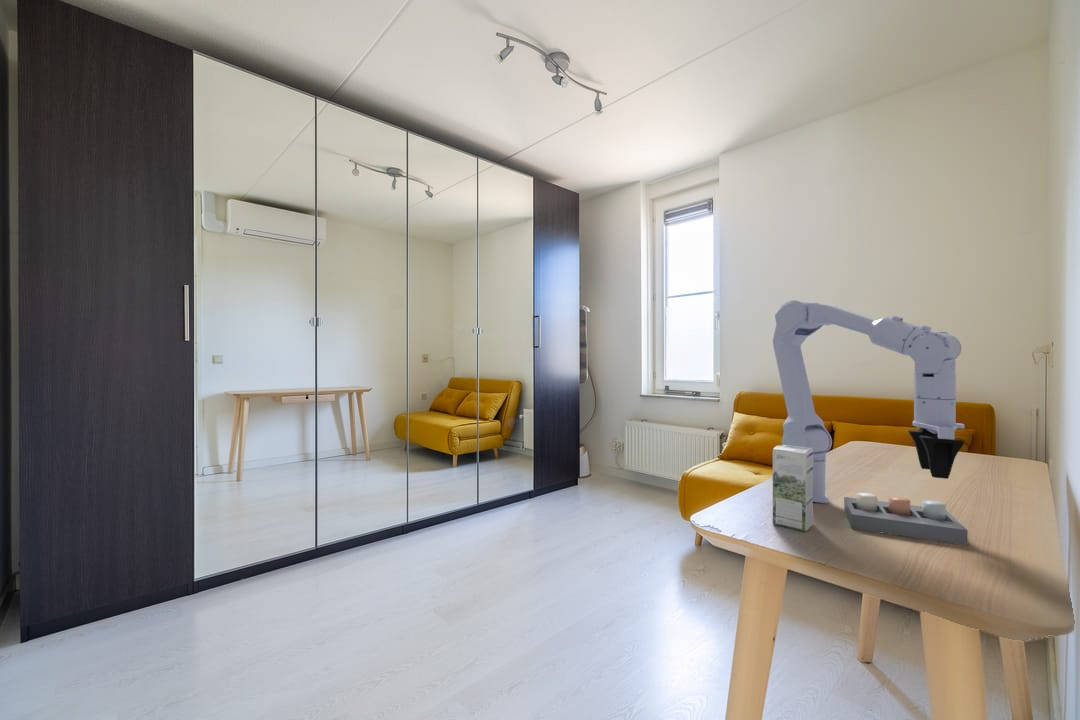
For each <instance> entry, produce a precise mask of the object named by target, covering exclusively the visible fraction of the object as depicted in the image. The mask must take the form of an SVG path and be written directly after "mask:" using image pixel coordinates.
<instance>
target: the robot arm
mask: <svg viewBox="0 0 1080 720" xmlns="http://www.w3.org/2000/svg"><path fill="white" fill-rule="evenodd" d="M774 317H775V318H774V319H775V323H776V324H775V329H774V334H773V338H772V345H773V351H774V355H775V359H776V364H777V369H778V373H779V378H780V382H781V389H782V393H783V398H784V402H785V408H786V412H787V417H786V419H785V421H784V422H783V424H782V430H783V435H782V437H781V438H782V439H781V445H788V446H797V447H805V448H813V503H820V504H830V501H829V498H828V495H827V492H826V472H827V471H826V469H827V468H826V466H827V465H826V459H827V457H826V456H827V455H826V453H827V452H828V451H830V450H831V448H832V445H833V439H832V436H831V434H830V432H828V430H827V428H826V427H825V423H824V421H823V419H822V418H821V417H820V416H819V415H818V414H817V413H816V412H815V411H816V410H815V406H814V405H815V404H814V402H813V396H812V393H811V387H810V383H809V379H808V373H807V369H806V366H805V361H804V357H803V352H802V349H801V348H802V347H801V346H802V345H803V343H804V342H806V339H807V338H808V337H810V336H811V335H813V334H814V333H816V332H817V331H819V330H820V329H821V328H823V327H824V326H831V325H834V326H838V327H841V328H844V329H848V330H850V331H854V332H858V333H861V334H865V335H867V337H868V338H869V340H870V342H871V343H872V344H873V345H876V346H878V347H881V348H884V349H887V350H889V351H892V352H896V353H898V354H901V355H905V356H906V357H907V356H908V357H910V358H911V359H912V360H913V361H914V373H913V375H914V376H913V377H914V379H913V383H914V385H913V386H914V387H913V391H914V393H913V394H914V395H913V397H914V398H913V420H912V426H914V427H916V428H917V429H918V430H916V429H915V430H913V429H911V430H910V429H909V430H908V434H909V436H910V437H911V439H912V441H913V444H914V446H915V449H916V452H917V458H918V461H919V465H920V466H919V467H920V468H921V469H922V470H929V472H930V475H931V477H932V478H936V479H937V478H938V479H944V480H947V479H949V477H950V475H951V473H952V468H953V465H954V461H955V459H956V457H957V454H958V453H959V451H961V448H962V447H963V446H964V445H965V441H964V440H962V439H955V438H956V436H955V432H956V430H957V429H965V428H966V427H965V424H963V423H960V422H959V423H958V422H956V420H957V419H956V417H957V416H956V414H957V412H956V411H957V410H956V408H957V407H956V405H957V401H956V399H957V374H956V359H958V357H959V356H960V354H961V352H962V344H961V342H960V340H959V339H958V338H957V337H956V336H954V335H952V334H949V332H946V331H936V332H932V331H931V330H932V327H931V326H928V325H922V326H920V325H915V324H913V323H909V322H905V321H904V318H903V317H900V316H897V315H893V316H892V317H890V316H885V317H881V318H880V319H877V320H876V319H874V318H870V317H868V316H864V315H862V314H860V313H856V312H853V311H850V310H848V309H845V308H842V307H839V306H836V305H830V304H822V303H818V302H808V301H807V302H805V301H799V300H794V299H793V300H788V301H786V302H784V303H783V304H782V305H781V306H780V308H779V309H778V310H777V312H776V313H775V315H774Z"/></svg>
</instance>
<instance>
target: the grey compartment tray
mask: <svg viewBox="0 0 1080 720" xmlns="http://www.w3.org/2000/svg"><path fill="white" fill-rule="evenodd" d="M843 500H844V501H843V503H844V505H843V509H844V512H845V515H846V518H847V520H848V523H849V525H850V528H851V529H852V530H853V529H854V530H859V531H860V530H861V531H866V532H867V531H868V532H873V531H874V533H879V532H883V533H882V534H886V533H891V534H890V535H893V534H897V535H896V536H899V535H904V536H903V537H906V536H909V537H908V538H913V537H914V539H919V538H920V539H921V540H926V541H933V542H941V543H947V544H955V545H960V546H967V547H968V534H969V533H968V529H967V528H966V527H965V526H964V525H963V524H961V522H960V521H959V520H957V519H956V518H955V517H954V516H953V515H952V514H951V513H950V512H948V510H946V520H945V521H941V520H934V519H927V518H924V517H923V516H922V505H913V504H910V516H904V515H896V514H891V513H889V512H888V502H889V501H881V500H877V511H876V512H874V511H866V510H859V509H857V508H856V497H848V496H844V498H843Z"/></svg>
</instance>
